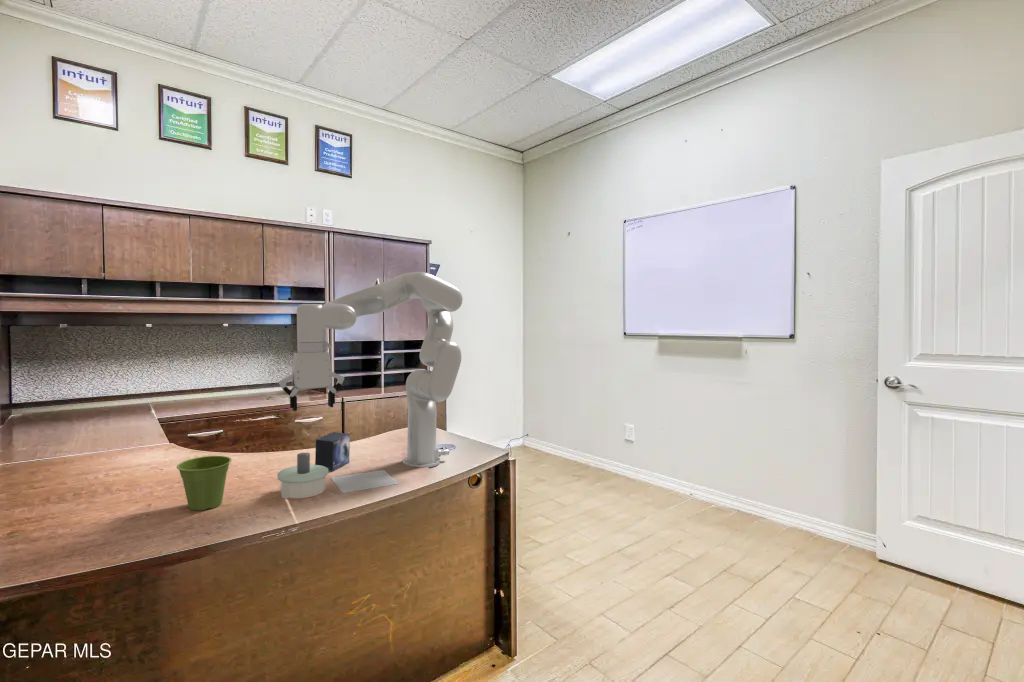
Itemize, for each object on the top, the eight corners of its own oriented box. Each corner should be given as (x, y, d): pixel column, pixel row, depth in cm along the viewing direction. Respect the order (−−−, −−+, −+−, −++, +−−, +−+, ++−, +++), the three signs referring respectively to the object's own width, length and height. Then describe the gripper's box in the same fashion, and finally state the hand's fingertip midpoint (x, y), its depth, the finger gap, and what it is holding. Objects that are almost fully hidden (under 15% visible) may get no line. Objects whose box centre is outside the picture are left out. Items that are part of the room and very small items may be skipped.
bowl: (319, 483, 143) (319, 466, 143) (328, 495, 134) (328, 477, 133) (278, 489, 137) (278, 472, 137) (284, 503, 128) (284, 484, 127)
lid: (322, 464, 144) (323, 445, 144) (333, 478, 133) (333, 457, 133) (274, 471, 137) (274, 451, 137) (281, 486, 126) (281, 464, 126)
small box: (332, 474, 151) (333, 440, 150) (313, 472, 152) (314, 439, 152) (350, 464, 161) (351, 432, 161) (332, 462, 163) (333, 431, 162)
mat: (383, 471, 155) (383, 469, 155) (398, 485, 143) (398, 483, 143) (330, 479, 146) (331, 477, 146) (342, 495, 134) (342, 493, 134)
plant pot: (183, 499, 128) (183, 457, 127) (235, 494, 132) (235, 454, 131) (170, 517, 117) (170, 471, 116) (227, 512, 121) (227, 467, 120)
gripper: (340, 346, 145) (340, 403, 146) (276, 348, 135) (277, 409, 136) (347, 348, 138) (347, 407, 140) (280, 350, 129) (281, 414, 130)
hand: (313, 408), depth 138 cm, fingers open, 9 cm apart
